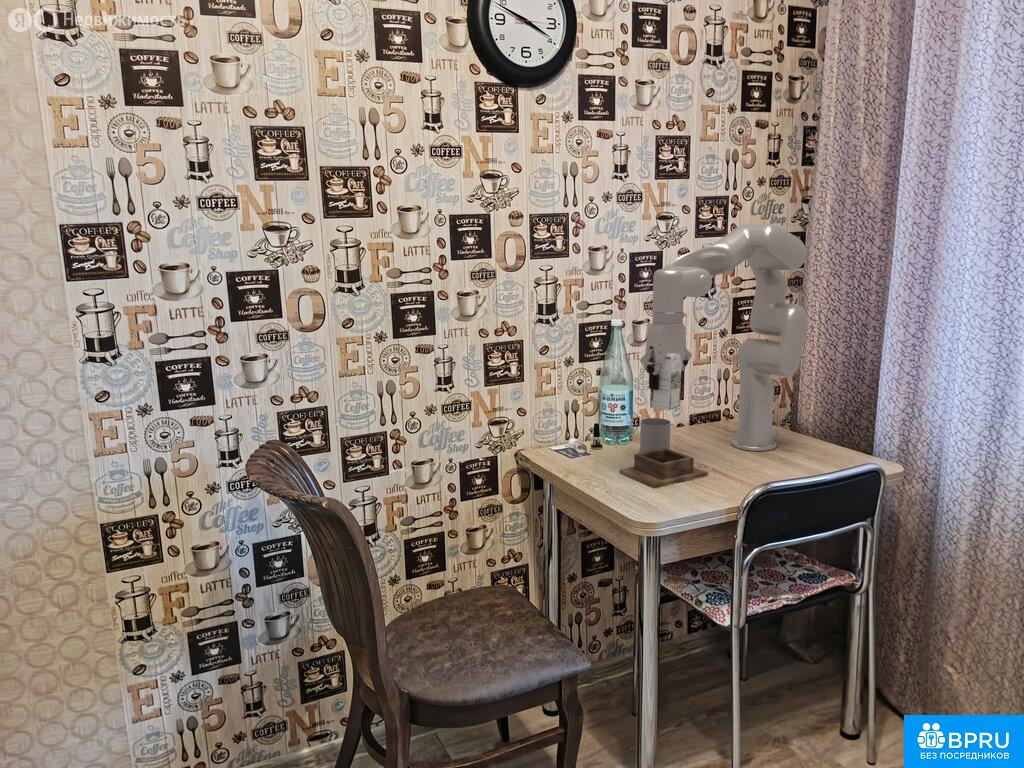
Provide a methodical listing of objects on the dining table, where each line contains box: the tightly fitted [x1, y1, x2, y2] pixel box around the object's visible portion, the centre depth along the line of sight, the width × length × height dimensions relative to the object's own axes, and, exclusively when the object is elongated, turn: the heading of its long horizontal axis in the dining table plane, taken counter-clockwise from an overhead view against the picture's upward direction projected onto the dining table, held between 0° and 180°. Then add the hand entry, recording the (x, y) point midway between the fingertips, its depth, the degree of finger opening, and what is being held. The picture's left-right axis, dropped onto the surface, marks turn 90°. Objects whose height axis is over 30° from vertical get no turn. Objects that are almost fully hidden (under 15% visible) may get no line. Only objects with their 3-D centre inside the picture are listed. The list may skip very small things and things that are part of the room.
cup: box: [639, 417, 671, 453], centre depth 213 cm, size 8×8×10 cm
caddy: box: [619, 448, 709, 489], centre depth 198 cm, size 18×14×5 cm
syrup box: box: [649, 354, 682, 411], centre depth 193 cm, size 6×6×14 cm
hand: (665, 387), depth 193 cm, fingers closed on syrup box, 7 cm apart
